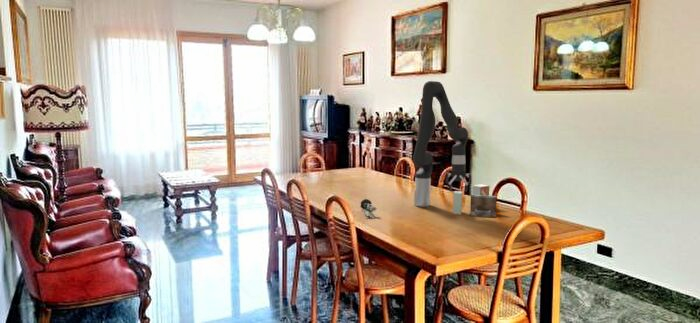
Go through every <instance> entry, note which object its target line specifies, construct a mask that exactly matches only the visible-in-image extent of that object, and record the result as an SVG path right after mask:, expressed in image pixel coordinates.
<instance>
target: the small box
mask: <svg viewBox="0 0 700 323" xmlns="http://www.w3.org/2000/svg"><path fill="white" fill-rule="evenodd" d="M471 195H484V196H490V185H487V184H482V183H481V184H474V185H472V193H471Z"/></svg>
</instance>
